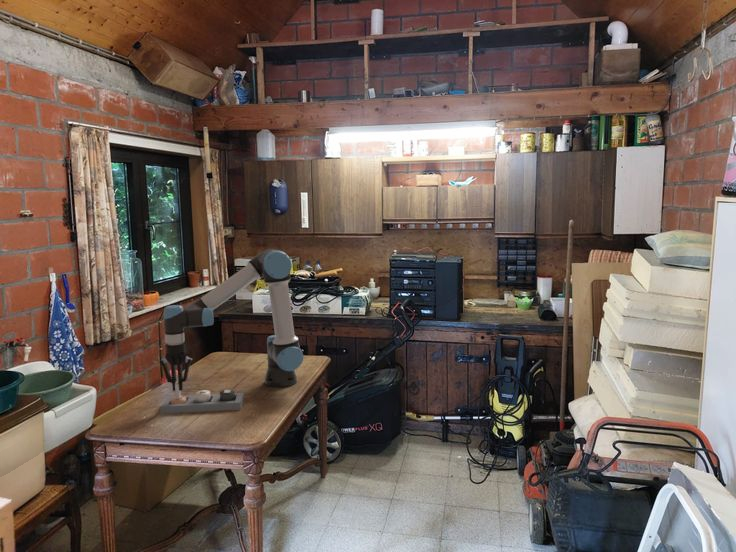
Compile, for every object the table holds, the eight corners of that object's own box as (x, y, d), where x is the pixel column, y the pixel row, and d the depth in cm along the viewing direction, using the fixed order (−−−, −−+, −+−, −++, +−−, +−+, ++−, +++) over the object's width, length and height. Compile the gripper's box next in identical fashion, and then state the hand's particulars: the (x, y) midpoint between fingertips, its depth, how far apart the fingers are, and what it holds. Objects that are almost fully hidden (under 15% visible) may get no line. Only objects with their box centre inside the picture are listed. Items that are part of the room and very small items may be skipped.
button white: (211, 397, 229) (211, 389, 229) (209, 402, 223) (208, 394, 223) (197, 398, 228) (197, 390, 228) (194, 403, 223) (194, 395, 222)
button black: (235, 396, 230) (235, 388, 230) (233, 401, 224) (233, 393, 224) (221, 397, 230) (221, 389, 229) (219, 402, 224) (218, 394, 223)
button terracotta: (188, 403, 228) (187, 395, 228) (184, 408, 222) (184, 400, 222) (173, 404, 228) (173, 396, 227) (169, 409, 222) (169, 401, 221)
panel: (243, 399, 234) (243, 392, 233) (240, 409, 222) (240, 402, 222) (168, 403, 230) (167, 396, 230) (160, 413, 218) (160, 406, 218)
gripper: (193, 340, 226) (196, 393, 229) (161, 341, 224) (164, 395, 227) (189, 344, 218) (192, 400, 221) (156, 345, 217) (159, 401, 220)
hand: (178, 397), depth 224 cm, fingers closed
